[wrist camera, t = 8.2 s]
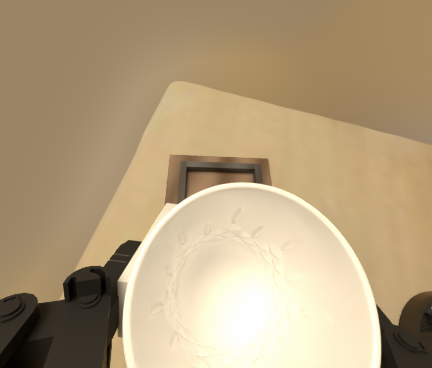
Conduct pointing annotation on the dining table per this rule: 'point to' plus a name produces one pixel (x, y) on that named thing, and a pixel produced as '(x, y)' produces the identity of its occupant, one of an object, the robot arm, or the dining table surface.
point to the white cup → (248, 287)
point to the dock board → (211, 174)
